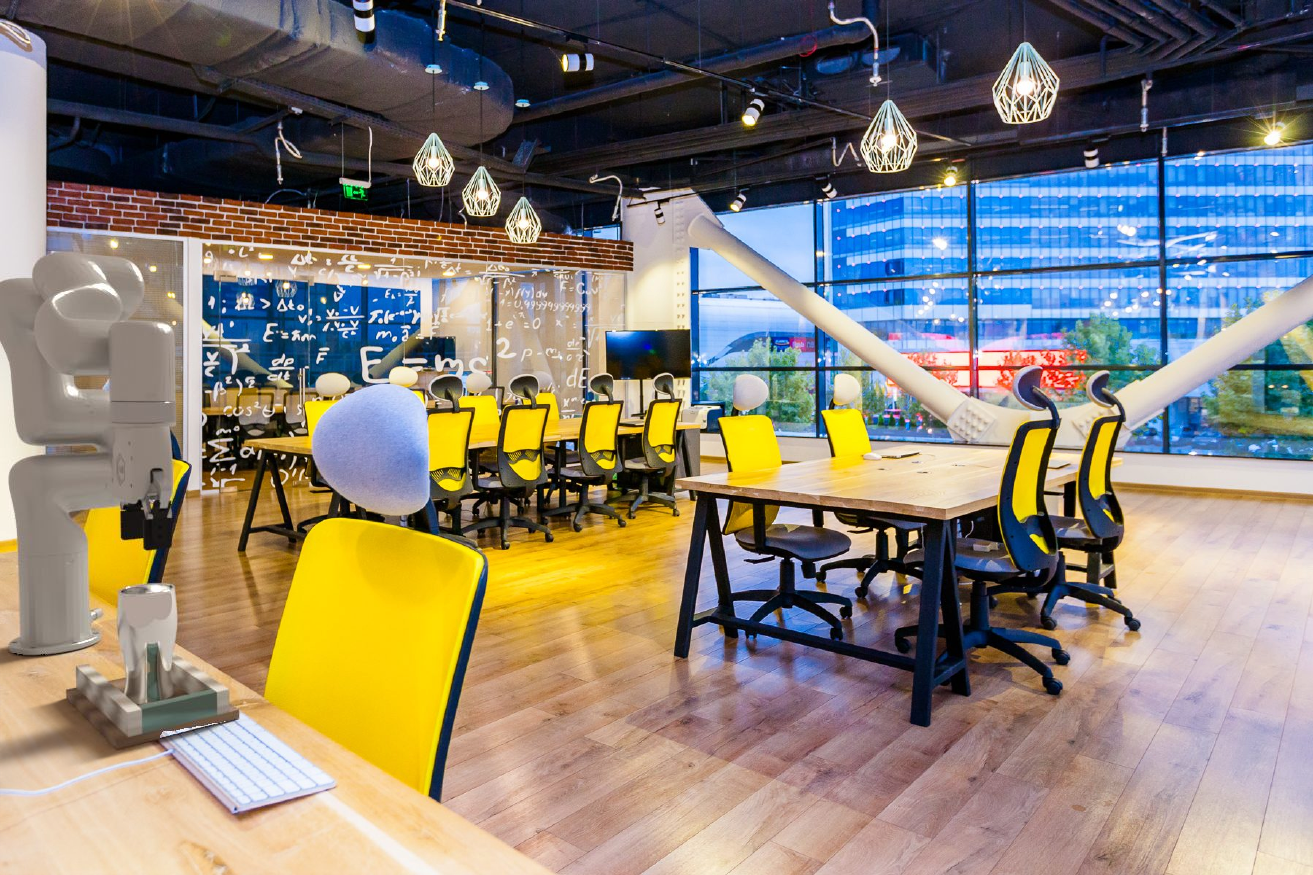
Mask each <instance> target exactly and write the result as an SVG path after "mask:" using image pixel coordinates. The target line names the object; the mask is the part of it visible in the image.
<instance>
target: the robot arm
mask: <svg viewBox="0 0 1313 875" xmlns="http://www.w3.org/2000/svg"><path fill="white" fill-rule="evenodd" d="M31 272H32V273H31V277H16V278H8V279H4V280H2V281H0V344H1V346H2V349H3V351H4V353H5V355H6V357H7V360H8V364H9V369H10V381H11V393H12V408H13V414H14V416H13V417H14V422H15V423H14V424H15V428H16V429H15V430H16V434H17V436H18V437H19V439H20V441H22V442H23V443H24V444H26V445H30V446H35V447H68V446H71V447H73V446H74V447H75V446H93V447H94V448H95V449H96V451H97V452H83V453H82V452H81V453H77V452H74V453H73V452H67V453H66V452H65V453H49V454H48V453H47V454H46V453H45V454H36V455H32V456H27V457H24V458H22V459H19V460H18V461H17V462H15V463H14V464H13V465H12V467H10V469H9V473H8V489H9V494H10V497H11V503H12V506H13V507H12V508H13V512H14V520H15V527H16V528H15V529H16V541H17V542H16V543H17V544H16V545H17V569H18V570H17V571H18V600H19V602H18V604H19V606H18V608H19V609H18V610H19V611H18V612H19V634H20V636H18V637H16V638H14V639H12V640H11V641H9V643H8V651H9V652H10V653H12V654H14V653H17V654H16V655H19V654H23V655H22V656H42V655H43V654H45V655H53V654H59V653H67V652H71V651H75V650H80V649H83V648H84V649H85V648H87V647H90V646H93V645H95V644H96V643H98V642H99V641H100V640H102V639H101V638H102V632H101V631H100V629H96V628H92V623H93V622H94V621H97V620H99V619H101V618H103V616H104V610H103V609H102V608H100V607H96V608H93V609H90V584H89V581H90V580H89V577H90V576H89V541H88V536H87V534H86V531H85V530H84V529H83V528H82V526H80V524H78V523H77V522H76V520H74V519H73V518H71V517H70V515H69V513H70V512H77V511H82V510H85V511H87V510H95V509H107V508H115V507H119V510H120V511H119V515H120V516H119V518H120V519H119V520H120V523H119V524H120V539H121V540H123V541H132V540H140V539H142V543H143V544H142V547H143V550H145V551H148V552H149V551H156V550H166V549H171V548H172V546H173V532H172V530H173V528H172V522H173V521H172V517H173V512H172V508H171V506H172V504H173V502H172V501H171V499H172V497H173V494H174V493H173V492H174V465H173V461H174V460H173V450H172V449H173V448H172V447H173V446H172V439H171V438H172V437H171V431H170V430H171V429H170V427H176V426H177V406H176V405H177V404H176V403H177V401H176V349H175V348H176V347H175V342H176V341H175V340H176V339H175V333H174V332H175V331H174V329H173V328H172V326H171V325H169V324H167V323H165V322H161V321H154V320H153V321H151V320H135V319H133V320H131V319H130V318H131V317H132V316H133V315H134V313H136V312H137V311H138V309H139V308H140V306H141V305H142V303H143V300H144V296H145V289H146V288H145V281H144V277H143V274H142V272H141V270H140V269H139V268H138V266H137V265H136V264H135V263H134V262H132V261H131V260H129V259H127V258H125V257H124V258H123V257H119V256H111V255H110V256H109V255H101V254H94V253H93V254H92V253H83V252H76V251H55V252H51V253H47V254H45V255H43V256H42V257H40V258H39V259H38V260H37V261H36V262H35V264H34V265H33V268H32V271H31ZM129 319H130V320H129ZM74 376H76V377H81V376H82V377H83V376H85V377H87V376H88V377H108V381H109V382H108V383H109V384H108V387H109V390H108V389H102V388H101V389H97V388H95V389H94V388H93V389H90V388H86V389H85V388H84V389H81V388H78V387H77V386H76V384H75V378H74ZM151 505H152V506H151ZM41 654H42V655H41Z"/></svg>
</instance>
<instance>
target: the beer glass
mask: <svg viewBox="0 0 1313 875" xmlns="http://www.w3.org/2000/svg"><path fill="white" fill-rule="evenodd" d="M177 606H178V605H177V596H176V585H175V584H171V583H165V582H156V583H155V582H152V583H142V584H141V583H140V584H135V585H130V586H126V587H123V588H120V589H119V590H118V591H117V609H116V629H117V631H116V632H117V639H118V643H119V648H120V652H121V657H122V660H123V665H124V666H123V667H124V671H125V677H126V683H125V689H124V695H125V696H127V697H128V698H129V699H130V700H131V701H132V702H134V703H135V704H136V705H137V706H141V705H145V704H149V703H154V702H158V701H163V700H167V699H171V698H173V697H174V696H175V689H174V685H173V681H172V675H171V663H172V656H173V653H174V649H175V645H176V638H177V631H178V607H177Z"/></svg>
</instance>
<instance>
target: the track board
mask: <svg viewBox="0 0 1313 875" xmlns="http://www.w3.org/2000/svg"><path fill="white" fill-rule="evenodd" d="M171 675H172V681H173V685H174V689H175V696H174V697H173V698H171V699H167V700H163V701H158V702H154V703H149V704H145V705H141V706H137V705H136V704H135V703H134V702H132V701H131V700H130V699H129V698H128V697H127V696H125V695H124V689H125V683H126V676H124V677H121V678H117V679H110V680H108V679H107V678H105V676H103V675H102V674H101V673H100V672H99V671H98V670H96V669H95V668H94V667H93V666H92V665H90V664H89V663H87V664H81V665H76V666H75V686H76V687H71V688H67V689H65V696H66V700H68V701H69V702H70V703H71V704H72V705H73V706H74V708H75V709H76V710H77V711H78V712H79V713H80V714H81V715H82V716H83V717H84V718H85V719H86V720H87V721H88V722H89V723H90V724H91V725H92V726H93V727H94V729H95V730H97V731H98V732H99V734H101V735H102V736H103V737H104V738H105V739H106V740H107V741H108V743H110V744H111V746H113V747H114V749H116V751H117V750H123V749H126V748H130V747H133V746H137V745H141V744H145V743H149V742H154V741H157V740H161V739H160V735H161V734H162V732H163V731H174V730H175V731H176V730H180V729H184V728H192V727H196V726H204V725H208V724H212V723H220V722H224V721H228V722H230V721H229V720H232V721H235V720H234V719H236V720H238V719H237V718H239V719H240V709H239V708H237V707H236V706H235V705H233V704H232V703H230V689H229V687H227V686H225V685H224V684H222V683H221V682H219V681H217V680H216V679H215V678H213V677H211V676H210V675H208V674H206V673H205V672H204V671H202V670H201V669H199V668H197V667H196V666H194V665H193V664H192V663H190V662H188V661H187V660H186V659H184V658H182V657H181V656H179V655H178V654H176V653H175V652H173V656H172V663H171ZM224 723H225V722H224ZM220 724H221V723H220Z"/></svg>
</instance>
